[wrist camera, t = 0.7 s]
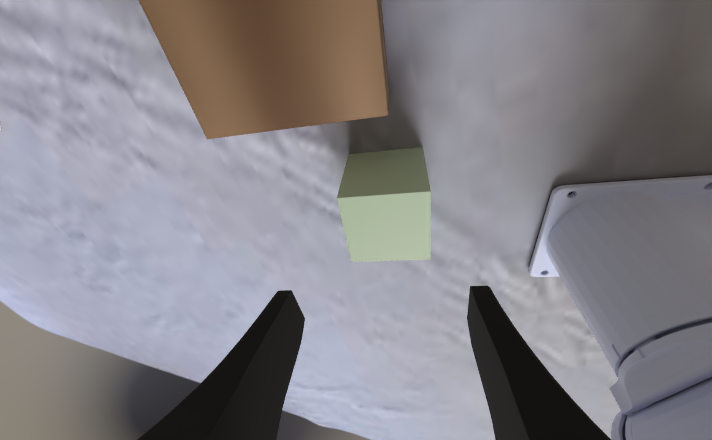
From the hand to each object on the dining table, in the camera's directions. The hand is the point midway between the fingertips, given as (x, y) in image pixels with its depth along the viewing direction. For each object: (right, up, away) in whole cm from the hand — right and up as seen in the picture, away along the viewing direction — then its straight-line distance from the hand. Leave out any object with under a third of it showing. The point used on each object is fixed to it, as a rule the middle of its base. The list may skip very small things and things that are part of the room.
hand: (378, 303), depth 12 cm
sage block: (+1, +6, +7) cm, 10 cm away
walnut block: (-4, +14, +2) cm, 15 cm away
